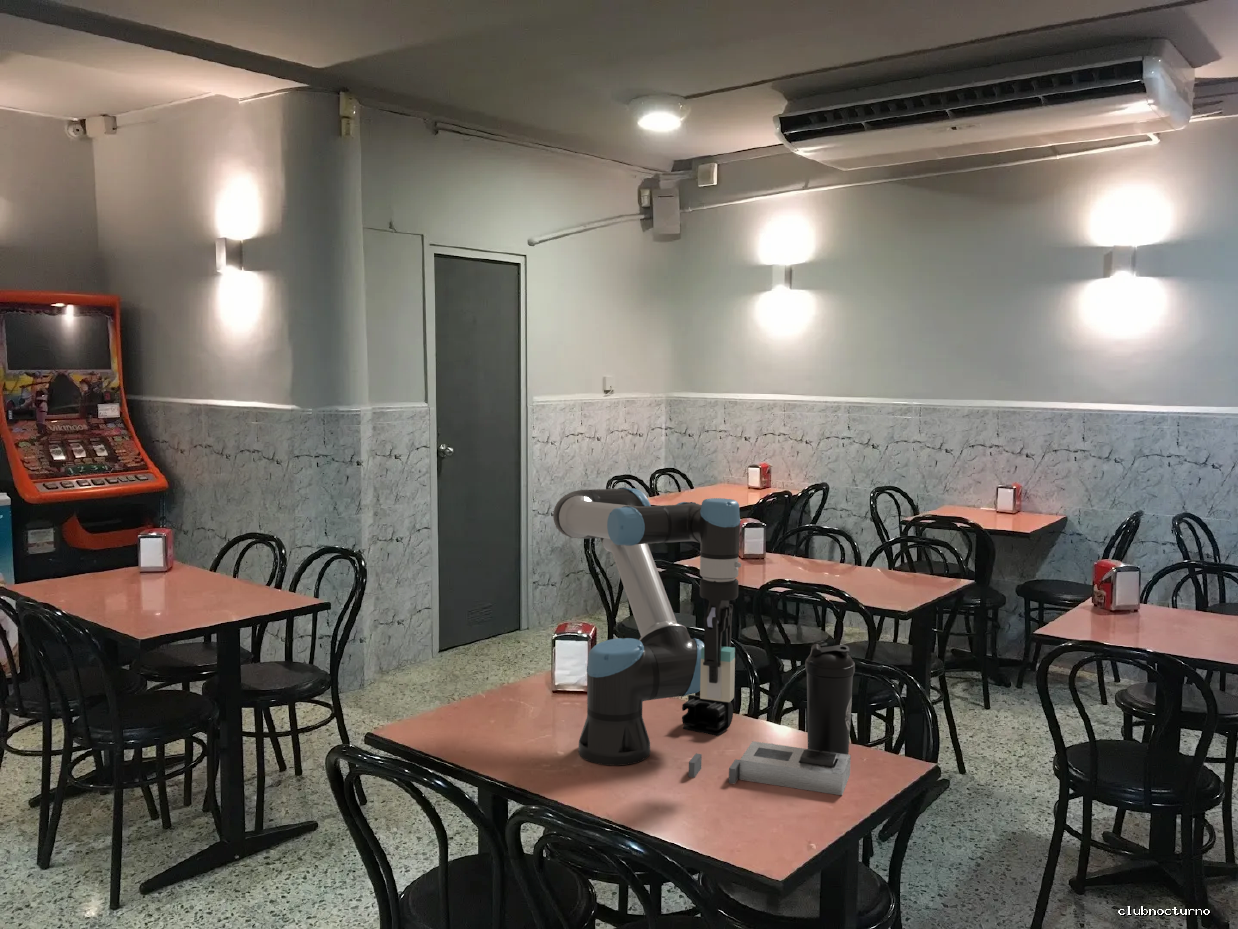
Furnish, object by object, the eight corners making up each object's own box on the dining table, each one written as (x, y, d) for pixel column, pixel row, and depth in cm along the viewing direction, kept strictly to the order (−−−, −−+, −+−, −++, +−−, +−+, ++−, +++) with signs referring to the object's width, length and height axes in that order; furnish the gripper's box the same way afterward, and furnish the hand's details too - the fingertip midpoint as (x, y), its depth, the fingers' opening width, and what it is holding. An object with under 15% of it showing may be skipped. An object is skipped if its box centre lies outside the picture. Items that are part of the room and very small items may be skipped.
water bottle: (854, 763, 203) (857, 655, 201) (804, 760, 205) (806, 652, 203) (850, 744, 213) (853, 641, 211) (802, 742, 215) (804, 639, 212)
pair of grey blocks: (688, 776, 196) (688, 762, 195) (695, 767, 200) (695, 753, 200) (734, 784, 192) (735, 769, 192) (740, 774, 197) (741, 760, 197)
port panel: (739, 779, 194) (739, 755, 194) (752, 760, 205) (752, 736, 204) (842, 795, 187) (842, 770, 187) (850, 774, 198) (850, 750, 197)
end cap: (733, 727, 224) (733, 698, 224) (720, 737, 218) (721, 707, 218) (693, 719, 229) (693, 691, 229) (680, 729, 223) (680, 699, 222)
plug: (700, 698, 194) (700, 648, 194) (705, 693, 198) (705, 644, 197) (729, 702, 192) (730, 652, 191) (734, 697, 195) (735, 647, 195)
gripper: (726, 587, 184) (724, 710, 186) (748, 572, 199) (745, 685, 201) (688, 584, 187) (686, 705, 189) (712, 569, 202) (710, 681, 204)
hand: (717, 694), depth 195 cm, fingers closed on plug, 3 cm apart
